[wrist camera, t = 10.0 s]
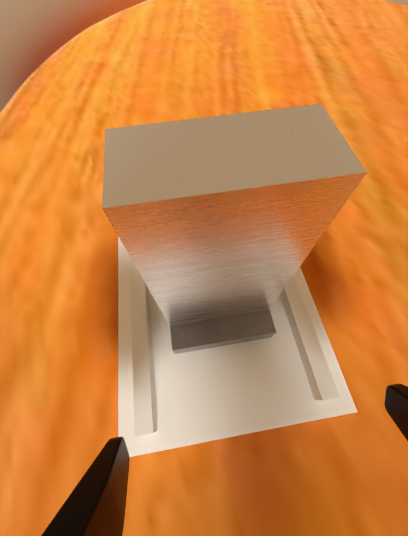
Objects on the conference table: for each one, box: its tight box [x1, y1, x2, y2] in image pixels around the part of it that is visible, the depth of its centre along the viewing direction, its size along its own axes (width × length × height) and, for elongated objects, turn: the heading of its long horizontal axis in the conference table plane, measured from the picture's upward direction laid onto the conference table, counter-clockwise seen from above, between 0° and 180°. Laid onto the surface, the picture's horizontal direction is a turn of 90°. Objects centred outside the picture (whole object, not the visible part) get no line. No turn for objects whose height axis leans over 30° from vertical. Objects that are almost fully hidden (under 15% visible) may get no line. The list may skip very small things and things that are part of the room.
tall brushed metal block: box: [102, 104, 367, 354], centre depth 12 cm, size 6×6×12 cm
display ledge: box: [118, 236, 357, 457], centre depth 18 cm, size 16×14×3 cm
